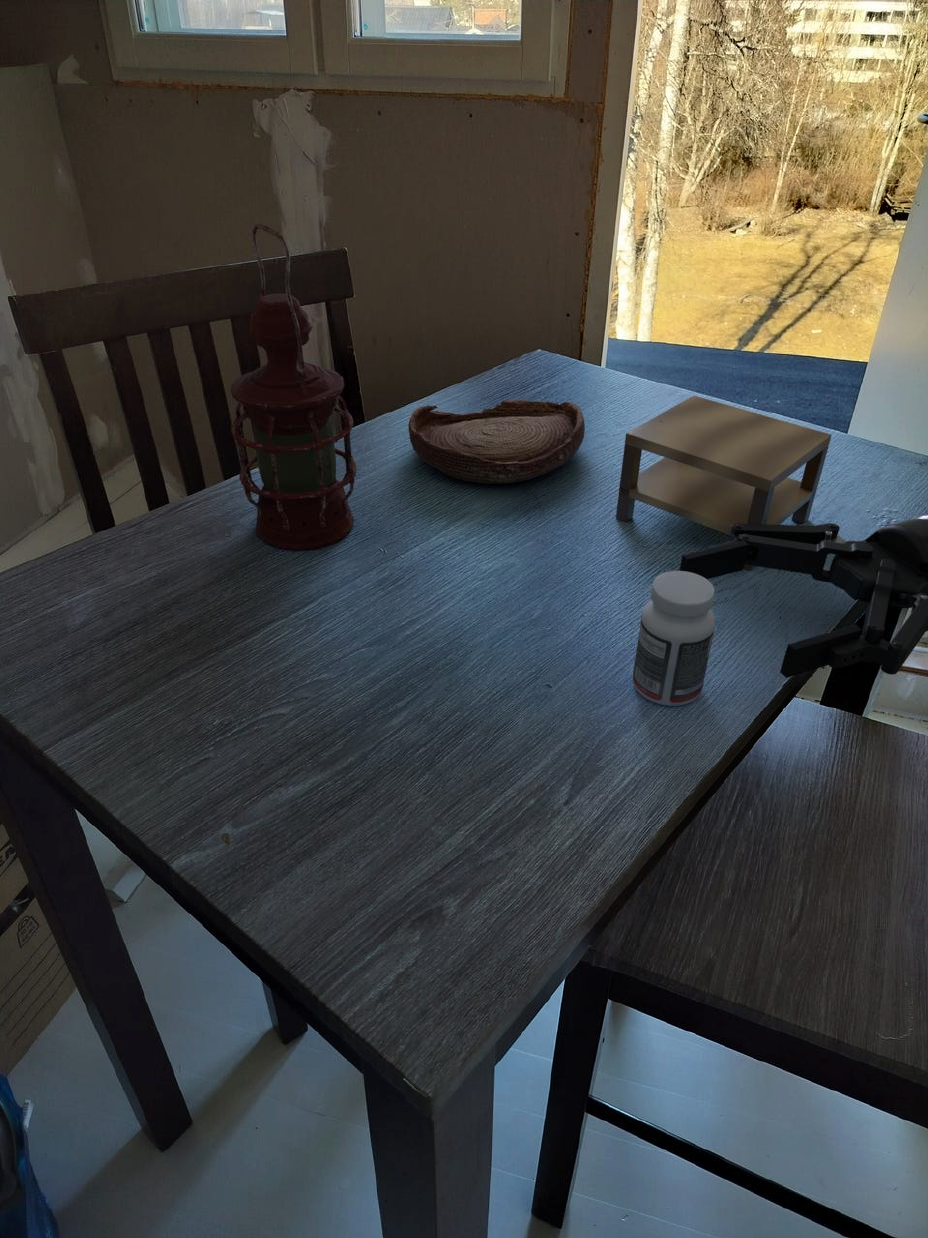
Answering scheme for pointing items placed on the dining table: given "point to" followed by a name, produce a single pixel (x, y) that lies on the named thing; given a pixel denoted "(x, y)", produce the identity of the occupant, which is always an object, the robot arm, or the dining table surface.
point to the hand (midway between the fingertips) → (730, 612)
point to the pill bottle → (675, 639)
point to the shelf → (722, 466)
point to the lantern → (292, 429)
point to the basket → (498, 440)
